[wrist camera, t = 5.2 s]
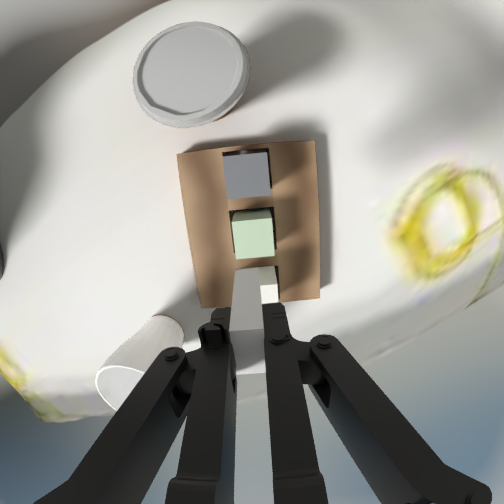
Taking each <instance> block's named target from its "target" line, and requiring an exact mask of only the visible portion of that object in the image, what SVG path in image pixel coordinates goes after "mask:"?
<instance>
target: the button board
mask: <svg viewBox="0 0 504 504" xmlns="http://www.w3.org/2000/svg"><path fill="white" fill-rule="evenodd" d="M261 148H268V153H269V164H270V176H271V186H270V192H271V196H259V197H248V198H238V199H228V200H227V193H226V184H225V175H224V166H223V157H224V152H230V151H240V150H250V149H261ZM177 162H178V170H179V178H180V185H181V192H182V199H183V206H184V213H185V219H186V226H187V232H188V238H189V244H190V250H191V255H192V261H193V266H194V272H195V277H196V282H197V287H198V293H199V298H200V302H201V307H202V308H213V307H228V306H232V296H233V286H234V277H235V270H238V269H244V268H255V267H267V266H277V267H278V282H279V291H278V302H288V301H298V300H308V299H317V298H320V229H319V201H318V181H317V165H316V151H315V141H292V142H276V143H262V144H251V145H241V146H232V147H223V148H215V149H208V150H200V151H194V152H187V153H181V154H177ZM263 207H273V212H274V224H275V238H276V244H274V253H275V256H268V257H257V258H246V259H236V255H235V246H234V238H233V230H232V219H231V210H241V209H252V208H263Z"/></svg>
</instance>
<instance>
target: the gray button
mask: <svg viewBox="0 0 504 504" xmlns="http://www.w3.org/2000/svg"><path fill="white" fill-rule="evenodd" d="M223 166H224V175H225V184H226V193H227V200H228V199H238V198H248V197H259V196H271V192H270V180H269V169H268V158H267V152H264V153H253V154H242V155H233V156H224V157H223Z"/></svg>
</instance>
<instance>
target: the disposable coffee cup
mask: <svg viewBox="0 0 504 504" xmlns="http://www.w3.org/2000/svg"><path fill="white" fill-rule="evenodd" d="M249 75H250V61H249V57H248V54H247V51H246V49H245V47H244V45H243V44H242V43H241V41H240V40H239V39H238V38H237V37H236V36H235V35H234V34H232V33H231V32H230V31H228V30H226V29H224V28H222V27H219V26H216V25H213V24H210V23H205V22H187V23H181V24H177V25H174V26H172V27H169V28H167V29H165V30H164V31H162V32H160V33H158V34H157V35H156V36H155V37H154V38H152V39H151V40H150V41H149V42H148V43H147V44H146V46H145V47H144V48H143V50H142V51H141V52H140V54H139V56H138V58H137V61H136V64H135V66H134V72H133V85H134V92H135V96H136V99H137V102H138V103H139V105H140V107H141V108H142V110H143V111H144V112H145V113H146V114H147V115H148V116H149V117H151V118H152V119H154V120H155V121H157V122H159V123H161V124H163V125H167V126H171V127H177V128H190V127H196V126H201V125H204V124H207V123H210V122H213V121H217V120H219V119H221V118H223V117H225V116H226V115H227V114H228V113H229V112H230V111H231V110H232V108H233V107H234V106H235V105H236V103H237V102H238V101H239V99H240V98H241V97H242V95H243V93H244V91H245V89H246V86H247V84H248V81H249Z"/></svg>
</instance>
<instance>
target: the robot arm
mask: <svg viewBox="0 0 504 504" xmlns="http://www.w3.org/2000/svg"><path fill="white" fill-rule="evenodd" d="M2 272H3V257H2V251H1V246H0V279H1V276H2ZM198 333H199V337H200V341H201V348H199V349H197V350H194V351H191V352H187V353H185V351H184V350H183V349H182V348H179V347H169V348H166V349H164V350H162V351H161V352H160V353H159V354H158V356H157V357H156V359H155V360H154V361H153V363H152V364H151V365H150V367H149V368H148V369H147V371H146V372H145V373H144V375H143V376H142V378H141V379H140V380H139V382H138V383H137V384H136V386H135V387H134V388H133V390H132V391H131V393H130V394H129V395H128V397H127V398H126V399H125V401H124V402H123V404H122V405H121V406H120V408H119V409H118V411H117V412H116V413H115V415H114V416H113V417H112V419H111V420H110V422H109V423H108V424H107V426H106V427H105V429H104V430H103V431H102V433H101V434H100V436H99V437H98V438H97V440H96V441H95V443H94V444H93V445H92V447H91V448H90V450H89V451H88V453H87V454H86V455H85V457H84V458H83V460H82V461H81V463H80V464H79V465H78V467H77V468H76V470H75V471H74V473H73V474H72V475H71V477H70V478H69V480H67V481H66V482H64V483H63V484H61V485H60V486H59V487H57V488H56V489H54V490H53V491H51V492H50V493H48V494H46V495H45V496H44V497H42V498H40V499H39V500H37V501H36V502H34V504H141V502H142V500H143V499H144V497H145V495H146V493H147V491H148V489H149V487H150V485H151V483H152V482H153V480H154V478H155V476H156V474H157V472H158V470H159V468H160V466H161V464H162V463H163V461H164V459H165V457H166V455H167V453H168V451H169V449H170V447H171V445H172V443H173V442H174V440H175V438H176V436H177V434H178V432H179V430H180V428H181V426H182V424H183V422H184V420H185V418H186V416H187V420H186V425H185V430H184V436H183V441H182V447H181V453H180V459H179V464H178V470H177V475H176V477H174V478H172V479H171V480H170V482H169V484H168V488H167V494H166V500H165V504H234V469H235V432H236V400H237V379H236V372H237V375H238V374H254V373H266V381H267V395H268V409H269V424H270V439H271V455H272V469H273V492H274V504H328V499H327V493H326V487H325V482H324V478H323V476H322V474H321V473H320V471H319V467H318V461H317V455H316V450H315V445H314V439H313V434H312V429H311V424H310V419H309V414H308V409H307V404H306V399H305V394H304V389H303V384H308V385H309V388H310V390H311V391H312V393H313V395H314V396H315V398H316V400H317V401H318V403H319V405H320V406H321V408H322V410H323V411H324V413H325V415H326V416H327V418H328V419H329V421H330V423H331V424H332V426H333V427H334V429H335V431H336V432H337V434H338V436H339V437H340V439H341V440H342V442H343V444H344V445H345V447H346V449H347V450H348V452H349V453H350V455H351V457H352V458H353V460H354V461H355V463H356V465H357V466H358V468H359V469H360V471H361V473H362V474H363V475H364V477H365V479H366V480H367V482H368V484H369V485H370V487H371V488H372V490H373V491H374V493H375V494H376V496H377V498H378V499H379V501H380V502H381V503H382V504H490V503H491V501H492V493H491V490H490V488H489V487H488V486H486V485H485V484H483V483H481V482H479V481H477V480H475V479H473V478H471V477H469V476H466V475H464V474H463V473H461V472H459V471H457V470H455V469H453V468H451V467H449V466H447V465H445V464H444V463H443V462H442V461H441V460H440V458H439V457H438V456H437V455H436V454H435V452H434V451H433V450H432V449H431V448H430V446H429V445H428V444H427V443H426V442H425V441H424V439H423V438H422V437H421V436H420V435H419V434H418V433H417V431H416V430H415V429H414V428H413V427H412V425H411V424H410V423H409V422H408V421H407V419H406V418H405V417H404V416H403V415H402V414H401V412H400V411H399V410H398V409H397V408H396V407H395V405H394V404H393V403H392V402H391V401H390V400H389V398H388V397H387V396H386V395H385V394H384V392H383V391H382V390H381V389H380V388H379V387H378V385H377V384H376V383H375V382H374V381H373V380H372V378H371V377H370V376H369V375H368V374H367V373H366V372H365V370H364V369H363V368H362V367H361V366H360V365H359V363H358V362H357V361H356V360H355V359H354V358H353V356H352V355H351V354H350V353H349V352H348V351H347V349H346V348H345V347H344V346H343V345H342V344H341V343H340V341H339V340H338V339H337V338H335V337H334V336H331V335H324V334H323V335H318V336H316V337H313V338H312V339H311V341H310V342H302V341H298V340H296V339H294V338H293V337H292V335H291V334H290V330H289V326H288V321H287V316H286V312H285V307H284V306H283V305H282V304H281V303H280V302H277V303H266V304H262V299H261V288H260V278H259V268H253V269H242V270H235V277H234V286H233V296H232V306H231V307H227V308H216V309H215V310H214V312H213V313H212V315H211V320H210V322H209V323H206V324H204V325H202V326H201V327H200V328H199V330H198Z"/></svg>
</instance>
